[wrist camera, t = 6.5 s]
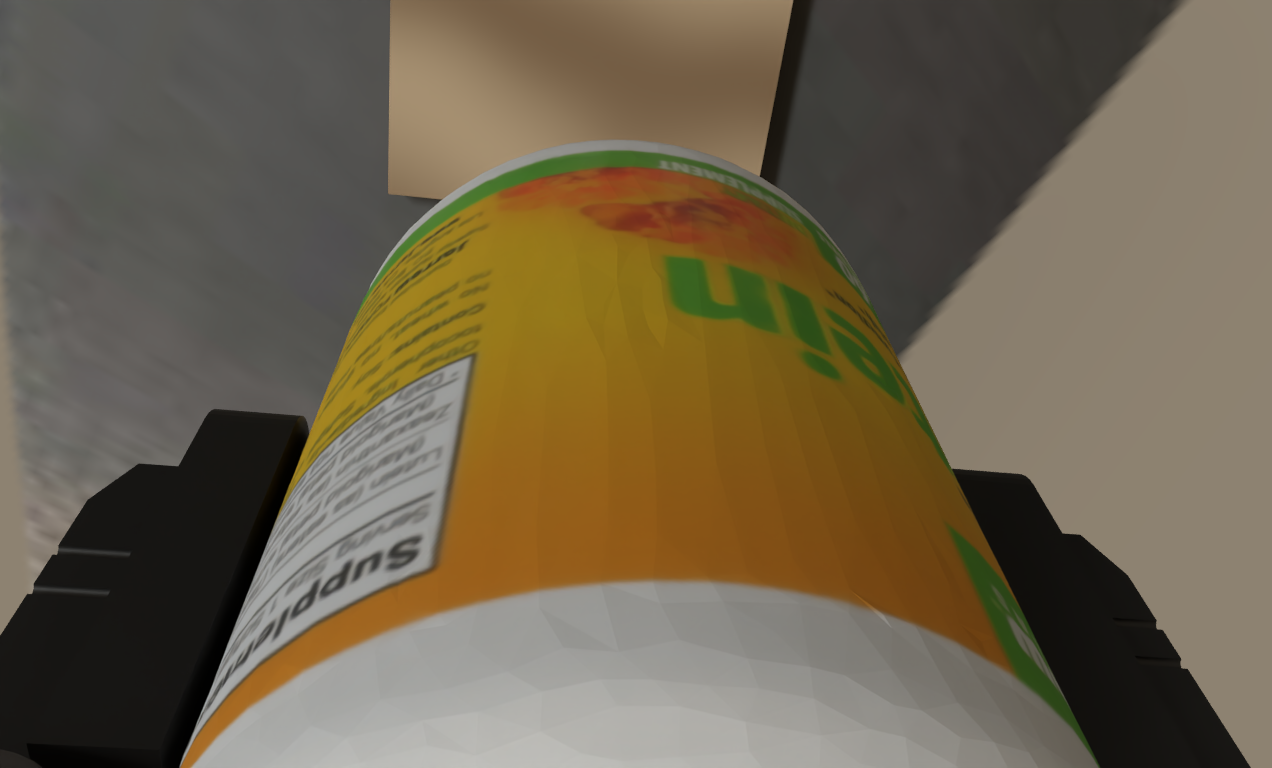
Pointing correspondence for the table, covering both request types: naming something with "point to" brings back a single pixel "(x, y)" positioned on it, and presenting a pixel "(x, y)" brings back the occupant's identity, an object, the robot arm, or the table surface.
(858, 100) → the table surface
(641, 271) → the supplement bottle
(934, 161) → the table surface
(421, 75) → the oak coaster
